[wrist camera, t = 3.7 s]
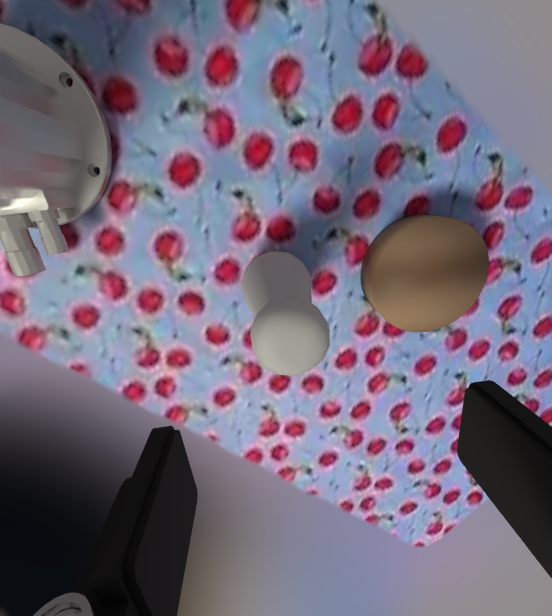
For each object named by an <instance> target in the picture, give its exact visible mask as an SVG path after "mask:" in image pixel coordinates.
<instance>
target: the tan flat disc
mask: <svg viewBox="0 0 552 616" xmlns="http://www.w3.org/2000/svg"><path fill="white" fill-rule="evenodd" d="M488 267H489V257H488V251H487V248H486V245H485V242H484V240H483V238H482V237H481V235H480V234H479V233H478V231H477V230H476V229H474V228H473V227H472V226H471V225H469V224H468V223H466V222H464V221H461V220H459V219H455V218H450V217H443V216H435V215H426V214H419V215H412V216H408V217H405V218H402V219H400V220H397V221H395V222H394V223H392V224H391V225H389V226H387V227H386V228H385V229H384V230H383V231H381V232H380V234H379V235H378V236H377V237H376V238H375V239H374V240H373V242H372V243H371V245H370V246H369V248H368V250H367V252H366V254H365V256H364V259H363V263H362V267H361V286H362V290H363V293H364V295H365V297H366V299H367V301H368V302H369V304H370V305H371V306H372V307H373V308H374V309H375V310H376V311H377V312H378V313H379V314H380V315H382V316H383V317H384V318H385V319H386V320H387V321H388V322H389V323H390V324H392V325H393V326H395V327H397V328H399V329H402V330H405V331H410V332H428V331H433V330H436V329H439V328H442V327H444V326H447V325H449V324H450V323H452V322H454V321H455V320H457V319H458V318H460V317H461V316H462V315H463V314H464V313H465V312H467V310H468V309H469V308H470V307H471V306H472V305H473V304H474V302H475V301H476V300H477V298H478V296H479V295H480V293H481V291H482V289H483V287H484V284H485V282H486V279H487V274H488Z"/></svg>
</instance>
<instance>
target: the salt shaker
mask: <svg viewBox="0 0 552 616" xmlns="http://www.w3.org/2000/svg"><path fill="white" fill-rule="evenodd" d="M241 284H242V292H243V298H244V299H245V301H246V303H247V305H248V306H249V308H250V310H251V312H252V313H253V315H254V317H255V319H254V322H253V324H252V327H251V332H250V334H251V341H252V348H253V351H254V354H255V356H256V357H257V358H258V360H259V361H260V363H261V364H262V365H263V367H265V368H267V369H269V370H271V371H272V372H274V373H276V374H281V375H293V376H295V375H298V374H301V373H304V372H307V371H310V370H311V369H312V368H314V367H315V366H316V365H317V364H318V363H320V362H321V361H322V360H323V358H324V356H325V354H326V352H327V350H328V348H329V346H330V343H329V325H328V323H327V321H326V320H325V318H324V316H323V315H322V313H321V311H320V310H319V309H318V308H317V307H316V306H315V305H313V304H312V300H311V281H310V274H309V272H308V270H307V269H306V267H305V265H304V264H303V262H302V261H301V260H299V259H298V258H296V257H295V256H293V255H292V254H290V253H287V252H277V251H271V252H268V253H265V254H262V255H259V256H257V257H256V258H255V259H254V260H253V261H252V262H251V263H250V264H249V265H248V266H247V267H246V270H245V273H244V276H243V278H242V281H241Z"/></svg>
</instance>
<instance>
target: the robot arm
mask: <svg viewBox="0 0 552 616" xmlns="http://www.w3.org/2000/svg"><path fill="white" fill-rule="evenodd" d="M72 80H73V84H72V86H70V81H72ZM111 165H112V147H111V138H110V133H109V130H108V126H107V123H106V119H105V116H104V114H103V112H102V110H101V108H100V105H99V103H98V101H97V99H96V97H95V96H94V94H93V93H92V91H91V90H90V88H89V87H88V85H87V84H86V82H85V81H84V79H83V78H82V77H81V76H80V75H79V74H78V73H77V71H76V70H75V69H74V68H73V67H72V66H71V65H70V64H69V63H68V62H67V61H66V60H65V59H63V58H62V57H61V56H60V55H59V54H57V53H56V52H55V51H54V50H53V49H51V48H50V47H48V46H47V45H45V44H44V43H42V42H41V41H39V40H38V39H36V38H35V37H33V36H31V35H29V34H27V33H25V32H23V31H21V30H19V29H17V28H15V27H11V26H8V25H5V24H1V23H0V240H1V242H2V244H3V247H4V249H5V251H6V252H5V255H6V257H7V260H8V262H9V264H10V266H11V269H12V271H13V273H14V275H15V276H25V275H30V274H35V273H39V272H42V271H44V270H46V269H45V266H44V264H43V261H42V259H41V256H40V254H39V251H38V249H37V247H35V245H34V243H33V240H32V238H31V235H30V233H29V231H28V228H38V229H39V231H40V234H41V236H42V237H41V239H42V242H43V244H44V247H45V249H46V252H47V254H48V255H52V254H59V253H64V252H68V251H69V248H68V246H67V243H66V240H65V238H64V235H63V234H62V232H61V230H60V227H59V226H60V225H65V224H67V223H70V222H72V221H75V220H77V219H79V218H80V217H82V216H83V215H85V214H86V213H88V212H89V211H90V210H91V209H92V208H93V207H94V206H95V205H96V203H97V202H98V201H99V200H100V198H101V196H102V195H103V193H104V191H105V189H106V187H107V184H108V180H109V177H110V173H111ZM98 167H99V169H100V174H97V172H96V169H97V168H98ZM457 453H458V457H459V459H460V461H461V462H462V464H463V465H464V466H465V467H466V469H467V470H468V471H469V473H470V474H471V475H472V476H473V478H474V479H475V480H476V482H477V483H478V484H479V486H480V487H481V488H482V489H483V491H484V492H485V493H486V495H487V496H488V497H489V498H490V500H491V501H492V502H493V504H494V505H495V506H496V507H497V509H498V510H499V511H500V512H501V514H502V515H503V516H504V518H505V519H506V520H507V521H508V523H509V524H510V525H511V527H512V528H513V529H514V531H515V532H516V533H517V534H518V536H519V537H520V538H521V539H522V541H523V542H524V543H525V545H526V546H527V547H528V549H529V550H530V551H531V553H532V554H533V555H534V556H535V558H536V559H537V560H538V562H539V563H540V564H541V565H542V567H543V568H544V569H545V570H546V572H547V573H548V574H549V575H550V577H551V578H552V427H551V426H550V425H549V424H548V423H546V422H545V421H544V420H542V419H541V418H540V417H539V416H537V415H536V414H535V413H533V412H532V411H531V410H530V409H528V408H527V407H526V406H524V405H523V404H522V403H521V402H519V401H518V400H517V399H516V398H514V397H513V396H512V395H510V394H509V393H508V392H507V391H505V390H504V389H503V388H501V387H500V386H499V385H498V384H496V383H495V382H493V381H490V380H488V381H481V382H474V383H471V384H470V385H469V388H467V389H466V390H465V395H464V403H463V410H462V417H461V424H460V432H459V439H458V446H457ZM196 505H197V488H196V484H195V481H194V478H193V474H192V471H191V468H190V464H189V461H188V457H187V454H186V451H185V447H184V444H183V440H182V437H181V434H180V431H179V430H174V428H173V427H172V426H168V427H160V428H154V429H152V431H151V433H150V435H149V438H148V440H147V442H146V445H145V447H144V450H143V452H142V454H141V457H140V459H139V461H138V464H137V466H136V468H135V471H134V473H133V475H132V477H130V478H127V479H126V480H125V481H124V482H123V484H122V485H121V488H120V490H119V492H118V494H117V496H116V499H115V501H114V503H113V505H112V507H111V510H110V512H109V514H108V517H107V519H106V521H105V523H104V525H103V528H102V530H101V533H100V535H99V537H98V539H97V541H96V543H95V546H94V548H93V550H92V552H91V555H90V557H89V559H88V561H87V563H86V566H85V568H84V570H83V573H82V575H81V577H80V580H79V582H78V584H77V586H76V588H75V590H74V592H73V593H67V594H65V595H62V596H59V597H57V598H55V599H54V600H52V601H51V602H49V603H48V604H46V605H45V606H43V607H42V608H41V609H40V610H39V611H38V612H37V613H36V614H35V615H34V616H177V611H178V605H179V600H180V594H181V589H182V583H183V577H184V572H185V566H186V560H187V555H188V549H189V544H190V538H191V532H192V527H193V521H194V516H195V510H196Z"/></svg>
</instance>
